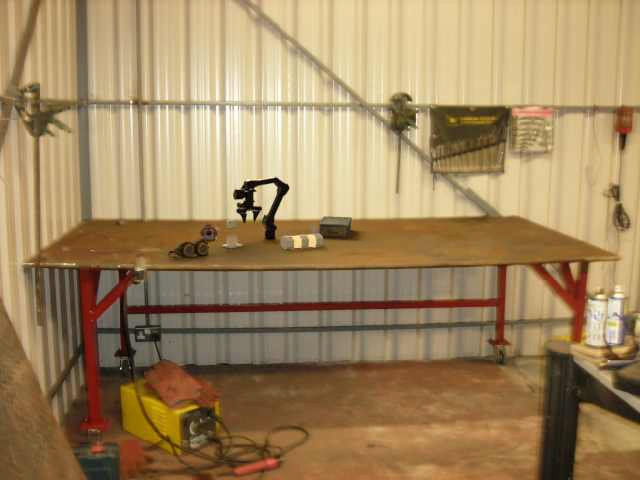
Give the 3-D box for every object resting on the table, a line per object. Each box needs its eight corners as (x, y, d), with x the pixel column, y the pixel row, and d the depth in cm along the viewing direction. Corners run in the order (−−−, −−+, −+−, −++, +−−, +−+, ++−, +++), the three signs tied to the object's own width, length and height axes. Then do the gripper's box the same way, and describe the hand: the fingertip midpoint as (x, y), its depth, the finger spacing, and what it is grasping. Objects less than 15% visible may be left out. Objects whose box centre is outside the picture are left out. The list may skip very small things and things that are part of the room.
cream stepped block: (233, 244, 423) (233, 234, 422) (242, 245, 418) (242, 235, 417) (222, 246, 415) (221, 236, 414) (230, 248, 410) (230, 238, 409)
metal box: (351, 230, 478) (352, 216, 477) (348, 238, 447) (349, 224, 445) (322, 229, 481) (323, 216, 479) (317, 237, 449) (317, 223, 447)
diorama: (316, 244, 427) (316, 224, 425) (323, 247, 418) (323, 227, 415) (280, 247, 417) (280, 227, 414) (286, 250, 408) (286, 229, 405)
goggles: (195, 247, 411) (194, 232, 409) (220, 254, 396) (220, 237, 394) (163, 255, 393) (162, 238, 390) (188, 262, 378) (187, 245, 376)
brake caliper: (199, 237, 430) (200, 221, 435) (200, 245, 440) (201, 229, 445) (217, 237, 431) (217, 221, 437) (217, 245, 441) (218, 229, 446)
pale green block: (234, 227, 418) (234, 219, 417) (237, 227, 416) (237, 219, 415) (226, 228, 412) (226, 220, 411) (229, 229, 411) (229, 220, 410)
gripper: (250, 196, 443) (250, 219, 446) (230, 199, 429) (230, 222, 432) (262, 198, 436) (262, 221, 439) (242, 200, 422) (242, 224, 425)
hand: (249, 222), depth 434 cm, fingers open, 9 cm apart
